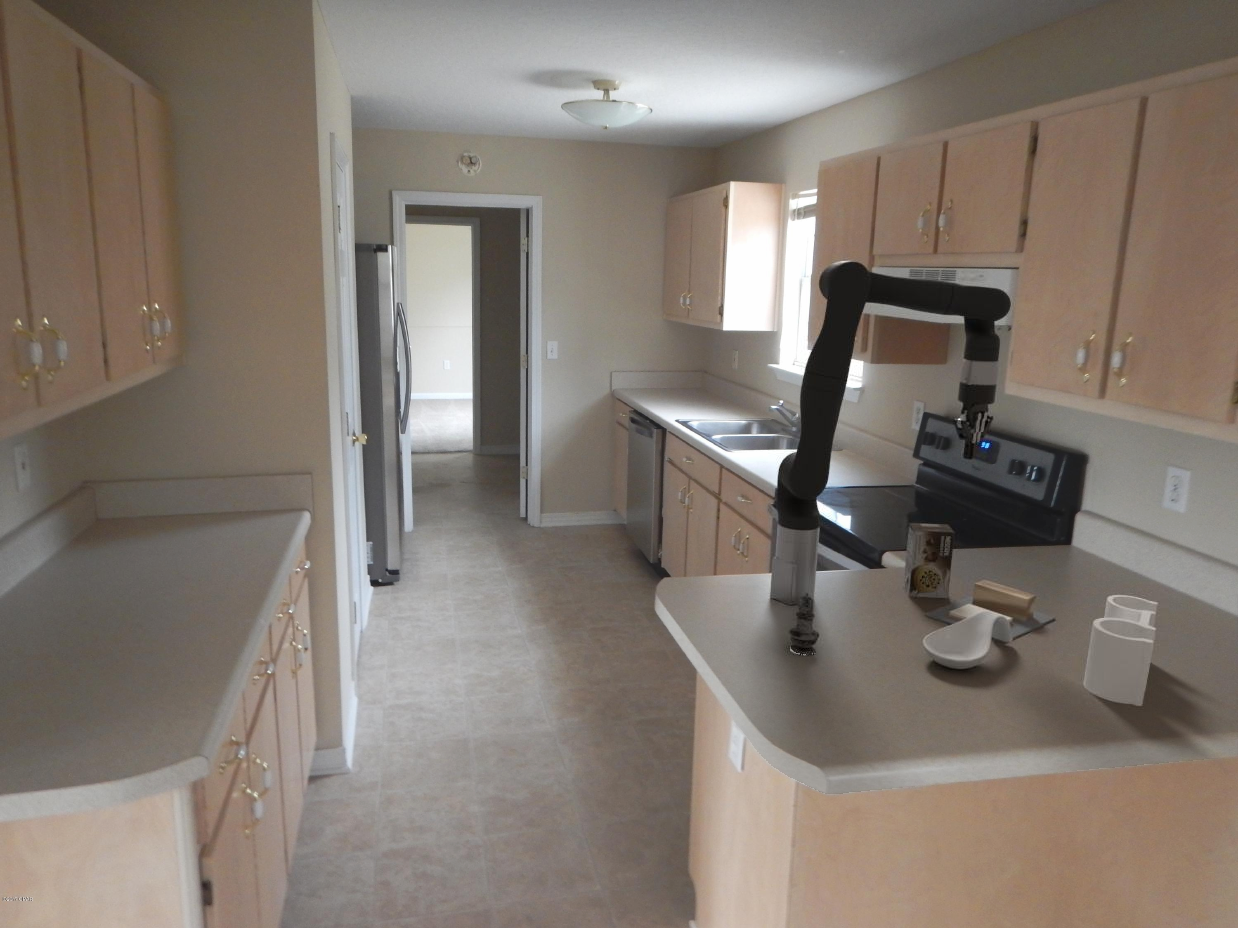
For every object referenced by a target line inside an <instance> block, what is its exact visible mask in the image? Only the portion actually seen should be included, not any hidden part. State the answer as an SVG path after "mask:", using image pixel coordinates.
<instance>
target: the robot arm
mask: <svg viewBox="0 0 1238 928" xmlns="http://www.w3.org/2000/svg"><path fill="white" fill-rule="evenodd" d="M818 288H819V291H820V293H821V295H822V296H823V298H824V299H825V300H826V305H825V311H824V318H823V322H822V323H823V324H822V326H821V329H820V331H819V334H818V337H817V338H816V341H815V343H814V345H813V347H812V349H811V351H810V353H809V356H808V359H807V361H806V364H805V368H804V372H803V377H802V381H801V387H800V394H799V395H800V397H799V409H800V410H799V414H800V434H799V435H800V436H799V440H798V445H797V449H796V451H794V452H790V453H789V454H787V455H786V456H785V457H784V458H783V459H782V461H781V462H780V464H779V466H778V471H777V479H776V481H777V482H776V510H777V533H776V541H775V542H776V544H775V545H776V547H775V556H773V558H772V560H771V561H772V562H771V578H770V579H771V580H770V589H769V590H770V592H769V598H772V599H774V600H777V601H779V602H782V603H783V604H787V605H790V606H792V605H799V600H800V598H801V597H804V596H806V595H805V594H806V593H808V594H809V595H808V596H809V597H810V598H812V599H813V601H814V600H815V599H814V598H815V591H816V590H815V589H816V588H815V587H816V577H817V575H816V574H817V563H818V553H819V552H818V551H819V539H820V527H821V514H820V511H819V507H818V501H817V500H818V497H819V496H820V495H821V494H823V492H824V490H825V489H826V487H827V485H828V481H829V477H830V468H831V467H830V466H831V459H832V451H833V442H834V439H835V438H834V437H835V433H836V431H837V430H836V429H837V426H838V421H839V418H840V413H841V408H842V404H843V401H844V398H845V392H846V388H847V384H848V379H849V373H850V367H851V363H852V360H853V358H852V357H853V353H854V348H855V342H856V336H857V331H858V327H859V324H860V321H861V318H862V315H863V312H864V310H865V307H866V303H867V304H868V303H869V304H880V305H887V306H892V307H896V308H901V309H902V308H903V309H906V310H907V309H908V310H911V311H917V312H921V313H922V312H923V313H927V314H928V313H929V314H935V315H941V316H942V315H943V316H955V317H956V316H959V317H963V326H964V334H965V345H964V352H963V359H962V365H961V369H960V377H959V386H958V394H957V401H958V402H960V403H962V407H961V410H960V416H959V418H954V420H953V425H954V428H955V431H956V433H957V437H958V439H959V440H961V441H962V442H964V447H963V454H962V456H963V459H965V460H975V459H976V457H977V451H978V443H980V441H981V439H982V440H984V439H985V436H986V434H987V432H988V431H989V428H990V427H991V425H992V422H993V420H994V415H989V405H993V404H994V403H995V399H996V392H997V384H998V374H999V358H1000V356H999V355H1000V348H1001V347H1000V346H1001V339H1000V336H999V335H998V334H997V333H996V329H995V326H996V325H995V324H996V323H995V322H997V321H1000V320H1003V319H1004V318H1005V317H1006V316H1007V315H1008V314H1009V312H1010V310H1011V305H1012V302H1011V298H1010V296H1009V295H1008V293H1007V292H1006V291H1004V290H1002V289H1000V288H997V287H990V286H989V287H987V286H978V285H967V284H961V283H956V282H952V281H948V280H947V281H946V280H941V279H933V278H924V277H911V276H898V275H889V274H883V273H878V272H873V271H870V270H868V268H867V267H866V266H865V265H864V264H863V263H861V262H859V261H856V260H841V261H835V262H833V263H831V264H829V265H828V266H827V267H826V268H824V270H823V271H822V272H821V274H820V276H819V279H818Z"/></svg>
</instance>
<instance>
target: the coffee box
mask: <svg viewBox="0 0 1238 928" xmlns="http://www.w3.org/2000/svg"><path fill="white" fill-rule="evenodd" d="M907 532H908V534H907V543H906V544H907V545H906V554H905V564H904V575H903V586H902V587H903V590H904V592H905V593H906V595H907V596H908V597H913V598H934V599H937V598H938V599H948V598H949V592H950V583H951V574H952V573H951V570H952V559H953V551H954V543H955V542H954V541H955V531H954V530H953V529H952V527H951V526H950V525H949V524H945V523H944V524H942V523H920V522H919V523H918V522H909V523H908V531H907Z"/></svg>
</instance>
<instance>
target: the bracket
mask: <svg viewBox="0 0 1238 928" xmlns="http://www.w3.org/2000/svg"><path fill="white" fill-rule="evenodd" d="M1158 604H1159V603H1158V602H1157V601H1150V600H1148V599H1145V598H1141V597H1139V596H1138V597H1137V596H1132V595H1127V594H1126V595H1124V594H1113V595H1110V596H1108V597H1107V598H1106V603H1105V610H1104V616H1103V617H1101V618H1100V617H1099V618H1096V619H1094V620H1093V622H1092V629H1091V633H1090V639H1089V645H1088V653H1087V660H1086V665H1085V670H1084V672H1085V673H1084V678H1083V684H1082V685H1083V687H1084V688H1085V689H1086V691H1088V692H1089V693H1090V694H1092V695H1095V696H1096V697H1098V698H1100V699H1104V700H1106V701H1110V702H1113V703H1118V704H1125V705H1134V706H1137V707H1142V706H1143V702H1144V697H1145V692H1146V690H1147V689H1146V688H1147V683H1148V677H1149V672H1150V666H1151V661H1152V655H1153V649H1154V646H1155V645H1154V644H1155V638H1156V631H1157V628H1156V627H1155V623H1156V616H1157V609H1158Z"/></svg>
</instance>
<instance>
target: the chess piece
mask: <svg viewBox="0 0 1238 928" xmlns="http://www.w3.org/2000/svg"><path fill="white" fill-rule="evenodd" d="M805 595H806V596H804V597H801V598H800V600H799V604H798V610H797V612H796V613H795V615H796V617H797V618H796V625H795V627H792V628H791V629H789V630H788V634H789V639H790V641H791V642H792V645H790V646H791V649H792V650H793V651H794V652H796V653H800V655H801V654H802V655H803V654H806V655H812V653H813V654H814V653H816V654H817V649H816V648H814V647H813V646H815V644H816V643H817V642H818V638H819V637H820V633H819V632H818V631H817V630H815V629H814V628H813V623H814V621H813V620H814V618H815V617H816V616H815V614H814V604H815V601H814V600H813V599H812V598H810V597H809V596H808V595H809V594H808V593H806V594H805ZM800 655H799V656H800ZM814 655H815V654H814ZM812 656H813V655H812Z"/></svg>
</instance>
